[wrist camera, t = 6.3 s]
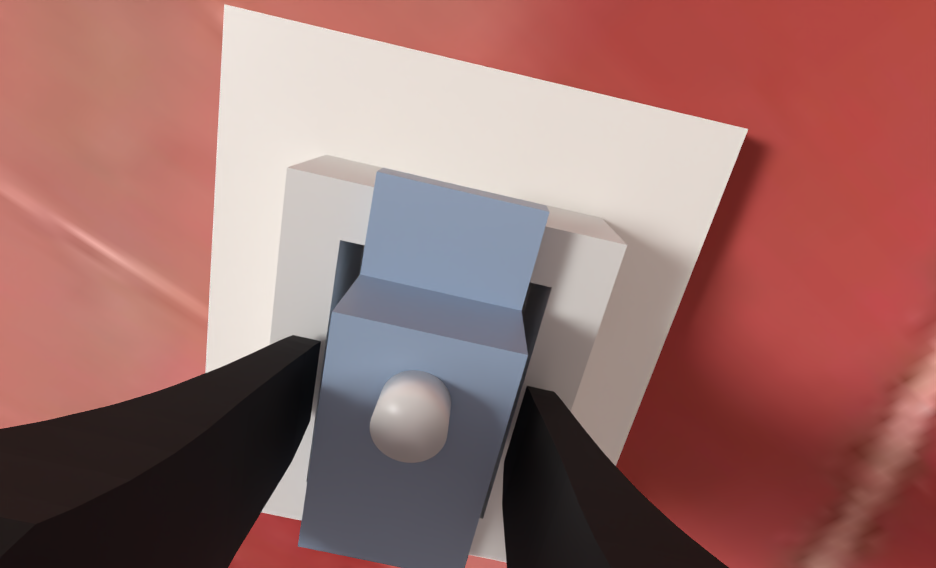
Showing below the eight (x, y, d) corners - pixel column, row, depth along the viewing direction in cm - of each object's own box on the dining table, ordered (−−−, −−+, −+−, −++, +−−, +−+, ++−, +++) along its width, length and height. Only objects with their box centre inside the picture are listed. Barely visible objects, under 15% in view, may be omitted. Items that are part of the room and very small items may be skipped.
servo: (455, 481, 15) (436, 691, 10) (350, 458, 15) (271, 659, 10) (535, 184, 12) (570, 252, 7) (404, 154, 12) (334, 198, 7)
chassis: (568, 550, 17) (586, 655, 14) (214, 477, 17) (148, 568, 14) (729, 127, 13) (813, 136, 9) (245, 12, 12) (153, -22, 9)
